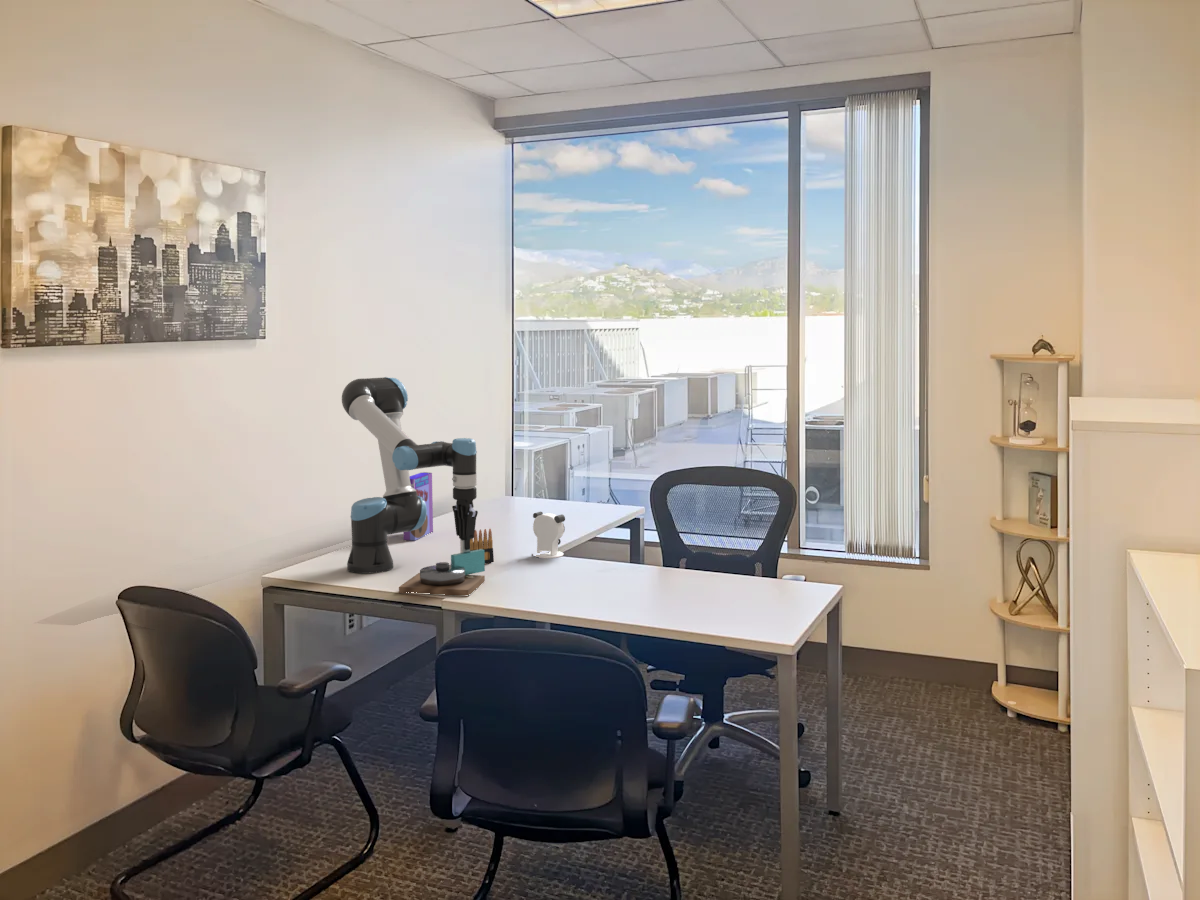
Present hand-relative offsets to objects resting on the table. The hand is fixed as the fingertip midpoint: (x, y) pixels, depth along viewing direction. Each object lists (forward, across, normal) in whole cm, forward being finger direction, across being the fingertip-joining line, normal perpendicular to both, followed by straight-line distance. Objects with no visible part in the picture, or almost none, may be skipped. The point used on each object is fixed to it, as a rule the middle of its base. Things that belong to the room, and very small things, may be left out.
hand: (465, 558), depth 324 cm
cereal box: (+7, -70, +17) cm, 72 cm away
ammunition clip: (+7, -16, +14) cm, 22 cm away
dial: (+4, +5, -7) cm, 9 cm away
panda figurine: (+7, -14, +41) cm, 43 cm away
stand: (+7, +6, -11) cm, 14 cm away
